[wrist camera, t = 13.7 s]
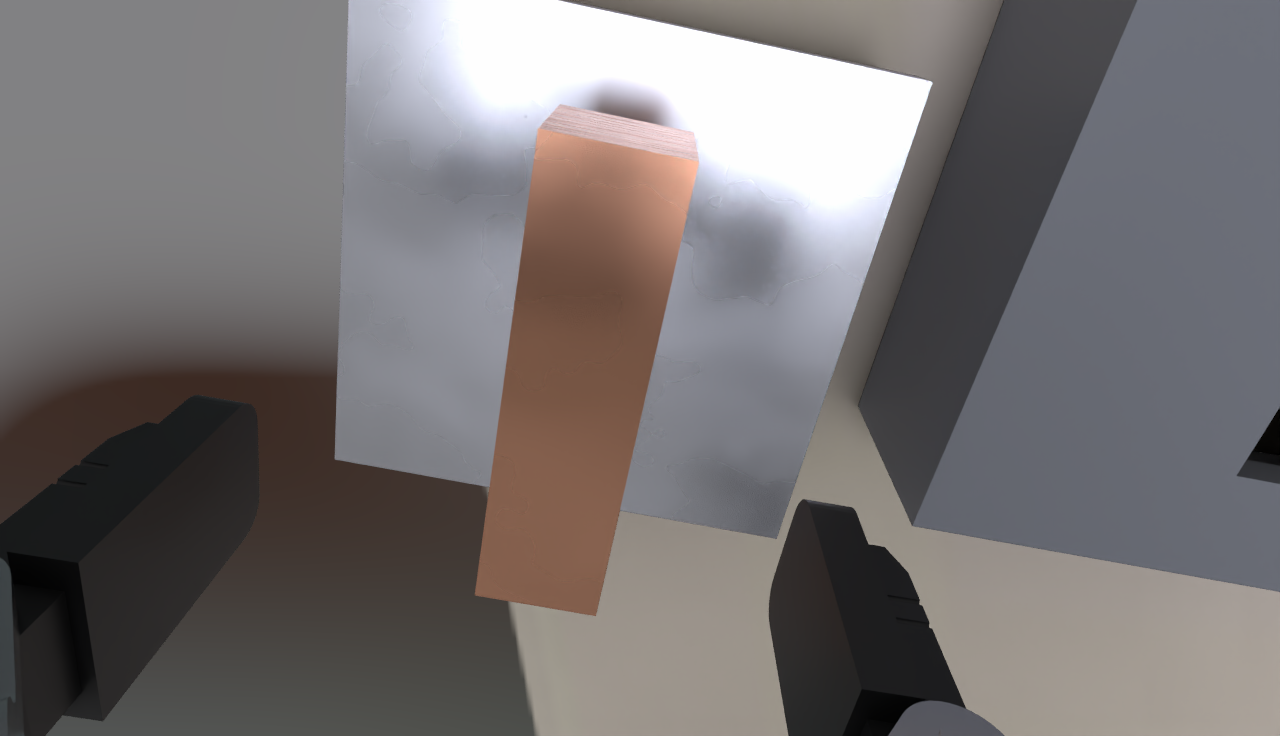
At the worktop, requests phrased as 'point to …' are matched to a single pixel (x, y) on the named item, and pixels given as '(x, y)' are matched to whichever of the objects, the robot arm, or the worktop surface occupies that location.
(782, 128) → the cover
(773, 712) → the worktop surface
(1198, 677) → the worktop surface
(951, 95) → the worktop surface
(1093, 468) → the housing
